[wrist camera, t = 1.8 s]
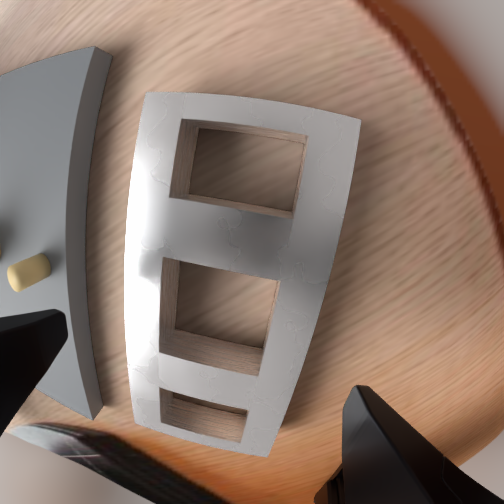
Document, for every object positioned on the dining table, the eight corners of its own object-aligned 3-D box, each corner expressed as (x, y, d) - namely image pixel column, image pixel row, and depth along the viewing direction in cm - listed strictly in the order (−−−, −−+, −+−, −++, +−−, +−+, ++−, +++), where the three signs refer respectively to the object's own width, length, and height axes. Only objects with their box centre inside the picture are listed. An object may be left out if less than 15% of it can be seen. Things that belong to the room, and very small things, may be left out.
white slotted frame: (168, 104, 10) (146, 91, 8) (347, 129, 10) (361, 119, 8) (148, 399, 14) (135, 423, 12) (270, 429, 13) (267, 457, 12)
